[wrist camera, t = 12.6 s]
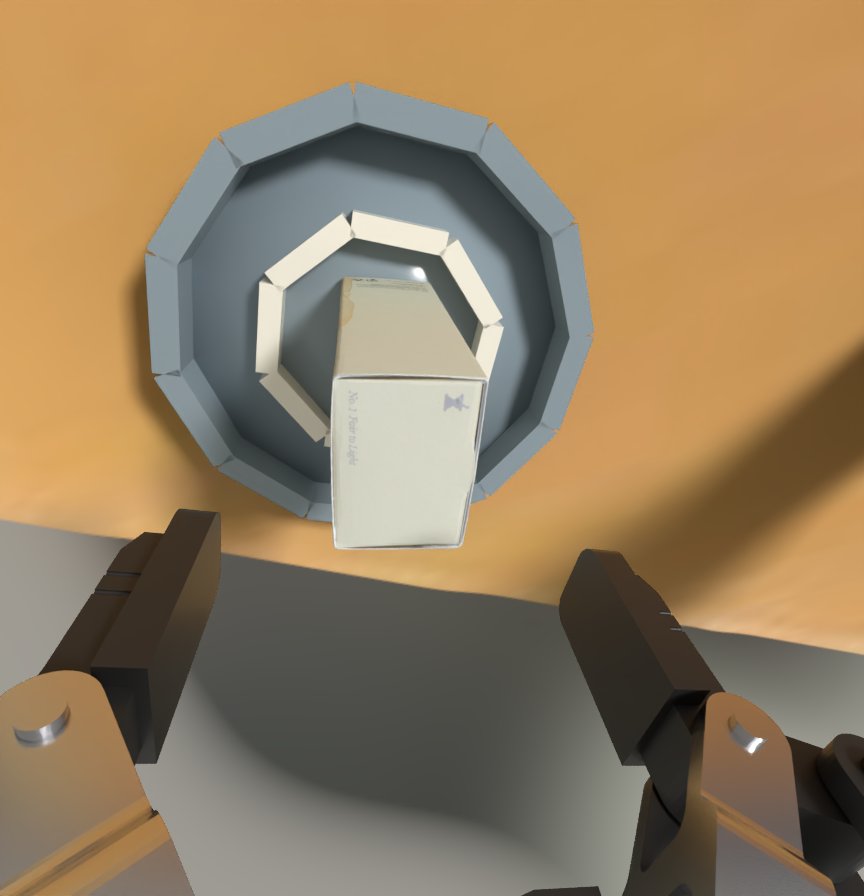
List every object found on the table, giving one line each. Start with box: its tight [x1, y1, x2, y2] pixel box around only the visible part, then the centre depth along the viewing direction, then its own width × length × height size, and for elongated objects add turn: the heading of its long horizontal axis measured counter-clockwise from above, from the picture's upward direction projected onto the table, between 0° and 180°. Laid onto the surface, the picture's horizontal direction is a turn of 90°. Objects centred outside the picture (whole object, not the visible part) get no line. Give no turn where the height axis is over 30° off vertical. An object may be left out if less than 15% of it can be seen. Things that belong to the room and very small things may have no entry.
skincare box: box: [330, 277, 489, 549], centre depth 20 cm, size 6×4×12 cm
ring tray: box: [145, 82, 594, 522], centre depth 24 cm, size 20×20×3 cm
